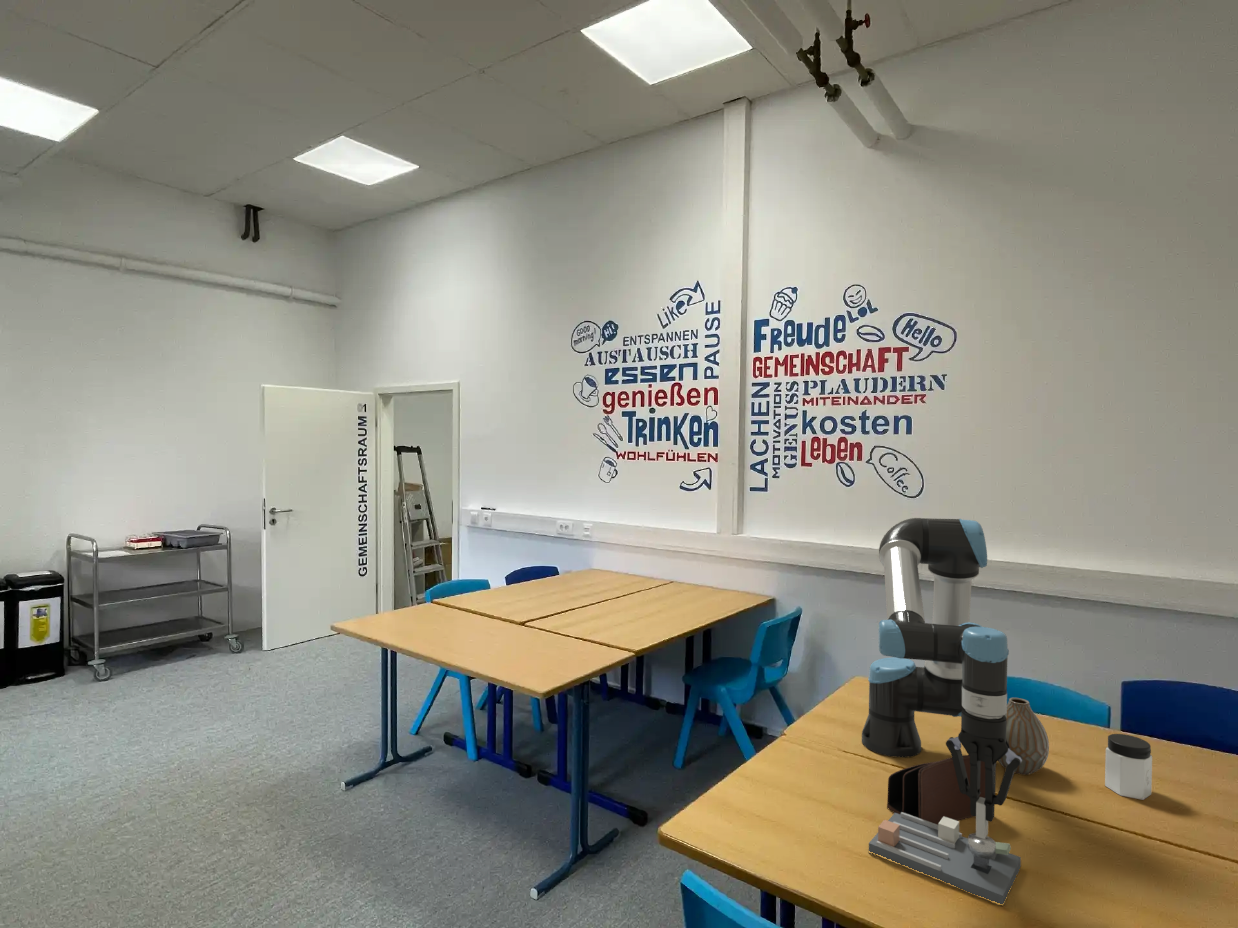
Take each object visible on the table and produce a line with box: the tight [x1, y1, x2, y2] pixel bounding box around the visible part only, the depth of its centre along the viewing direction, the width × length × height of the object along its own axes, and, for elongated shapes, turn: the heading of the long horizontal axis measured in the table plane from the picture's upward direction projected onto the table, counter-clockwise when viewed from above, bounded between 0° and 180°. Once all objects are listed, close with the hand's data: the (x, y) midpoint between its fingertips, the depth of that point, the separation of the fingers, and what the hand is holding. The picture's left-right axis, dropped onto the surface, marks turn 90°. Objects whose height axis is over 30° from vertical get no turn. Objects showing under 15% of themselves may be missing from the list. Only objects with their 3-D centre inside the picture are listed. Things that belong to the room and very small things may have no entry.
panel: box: [868, 812, 1022, 904], centre depth 133 cm, size 24×15×4 cm, turn 49°
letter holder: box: [886, 754, 985, 825], centre depth 151 cm, size 10×20×14 cm, turn 111°
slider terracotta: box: [877, 819, 900, 847], centre depth 135 cm, size 3×4×3 cm
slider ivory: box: [938, 816, 960, 843], centre depth 136 cm, size 3×4×3 cm
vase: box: [997, 697, 1050, 776], centre depth 171 cm, size 13×13×18 cm
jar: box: [1104, 733, 1153, 801], centre depth 160 cm, size 9×8×12 cm
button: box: [967, 832, 996, 869], centre depth 128 cm, size 5×5×5 cm
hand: (981, 834), depth 127 cm, fingers closed
